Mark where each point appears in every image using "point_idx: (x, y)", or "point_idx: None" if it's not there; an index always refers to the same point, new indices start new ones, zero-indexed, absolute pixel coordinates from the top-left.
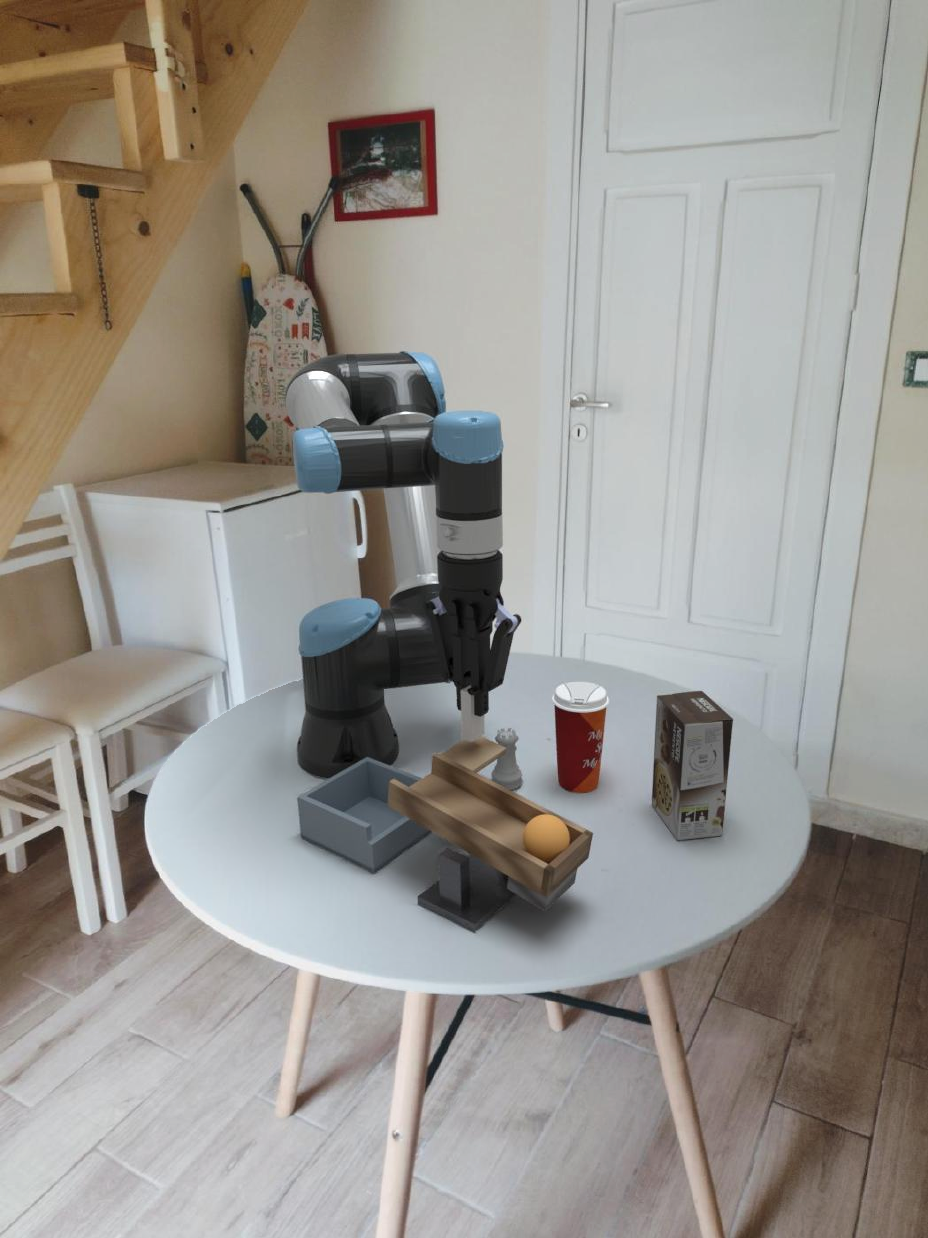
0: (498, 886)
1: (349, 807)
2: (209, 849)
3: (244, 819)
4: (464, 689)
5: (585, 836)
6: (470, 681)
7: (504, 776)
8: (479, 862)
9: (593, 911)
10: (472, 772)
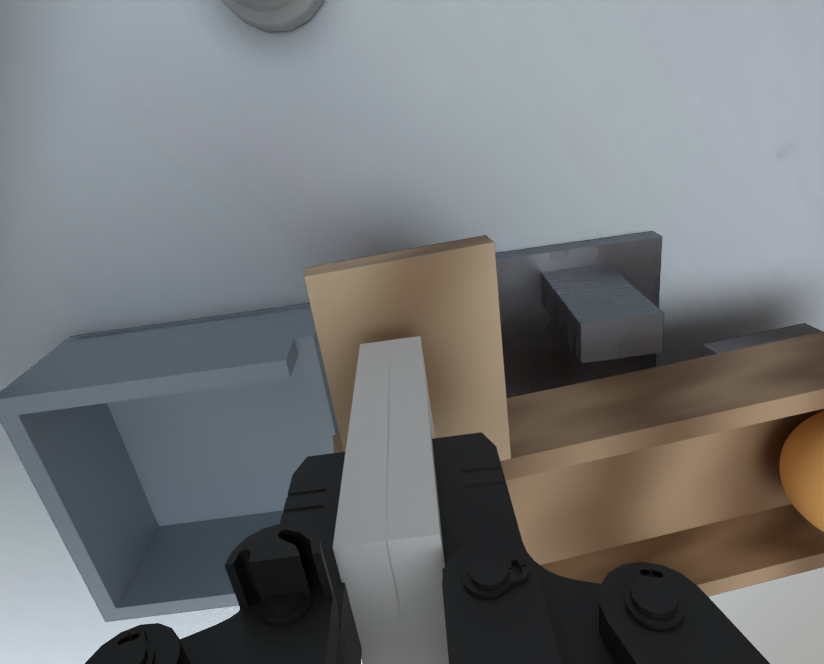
0: None
1: (112, 423)
2: (82, 642)
3: (7, 566)
4: (377, 655)
5: None
6: (341, 614)
7: (291, 4)
8: (532, 369)
9: (819, 296)
10: (519, 465)
